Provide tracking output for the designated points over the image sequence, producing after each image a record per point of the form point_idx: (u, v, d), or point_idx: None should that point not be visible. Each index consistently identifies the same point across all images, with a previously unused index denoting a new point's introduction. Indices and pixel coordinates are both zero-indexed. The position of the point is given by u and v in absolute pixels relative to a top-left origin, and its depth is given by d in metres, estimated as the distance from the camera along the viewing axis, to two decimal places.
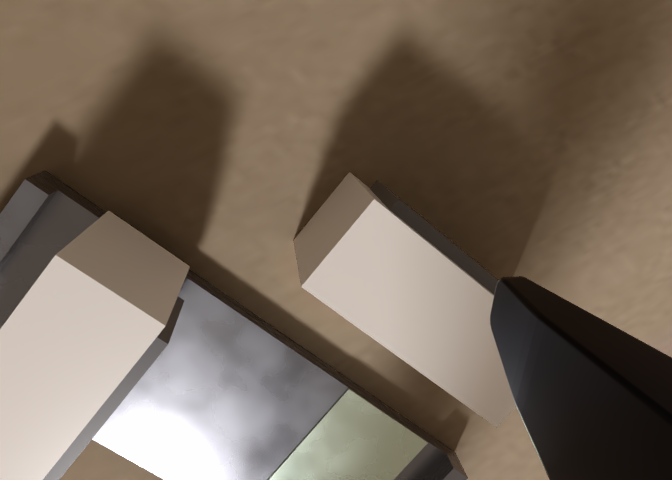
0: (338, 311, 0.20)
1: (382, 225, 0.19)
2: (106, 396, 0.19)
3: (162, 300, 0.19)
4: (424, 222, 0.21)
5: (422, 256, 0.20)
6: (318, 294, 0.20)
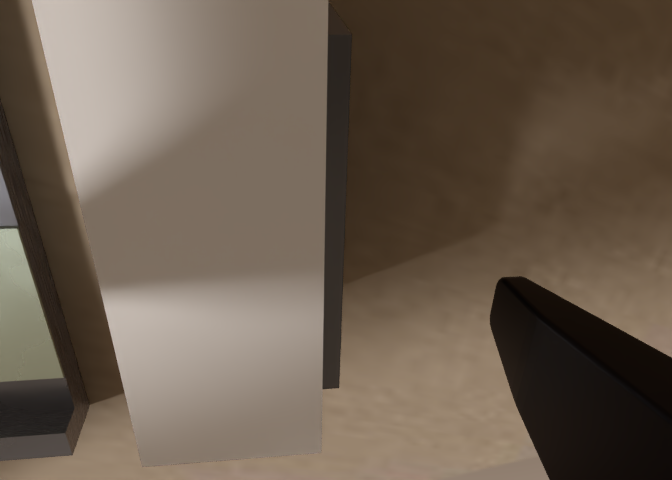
0: (59, 94, 0.08)
1: (292, 35, 0.08)
2: None
3: None
4: (345, 114, 0.10)
5: (295, 158, 0.09)
6: (47, 22, 0.08)
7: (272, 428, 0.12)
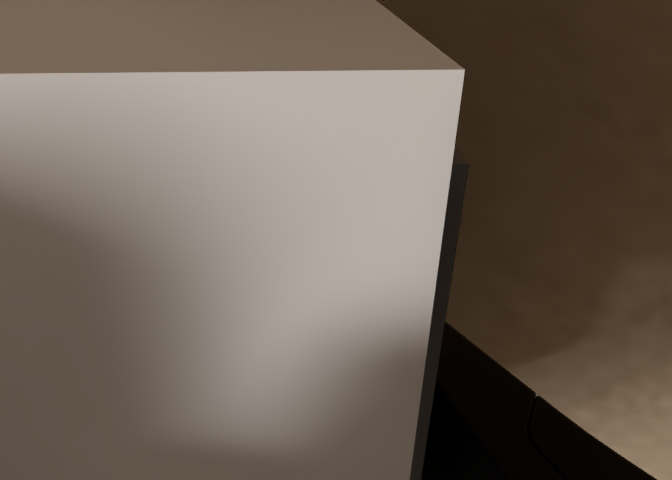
0: None
1: (367, 206, 0.03)
2: None
3: None
4: (441, 296, 0.05)
5: (356, 418, 0.04)
6: None
7: None
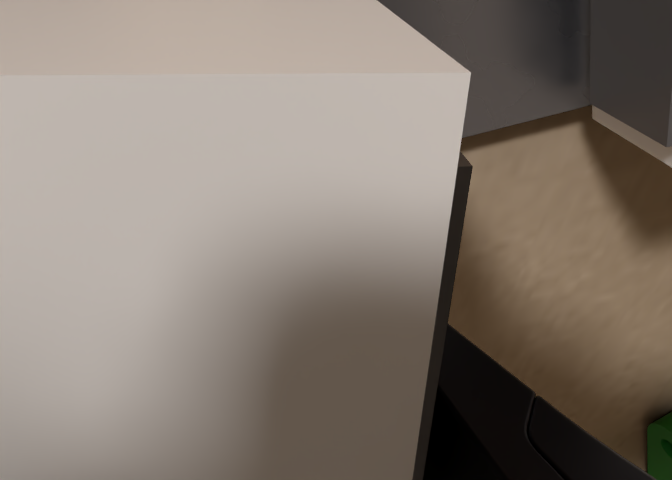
0: None
1: (371, 207, 0.03)
2: None
3: None
4: (444, 298, 0.05)
5: (359, 420, 0.04)
6: None
7: None
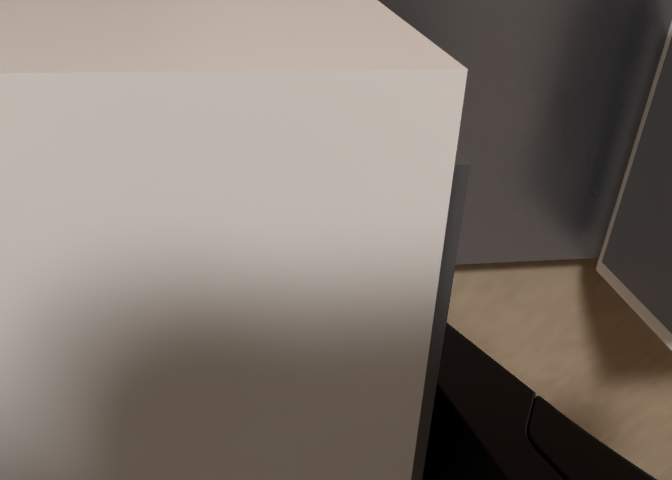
0: None
1: (368, 207, 0.03)
2: None
3: None
4: (443, 297, 0.05)
5: (357, 420, 0.04)
6: None
7: None
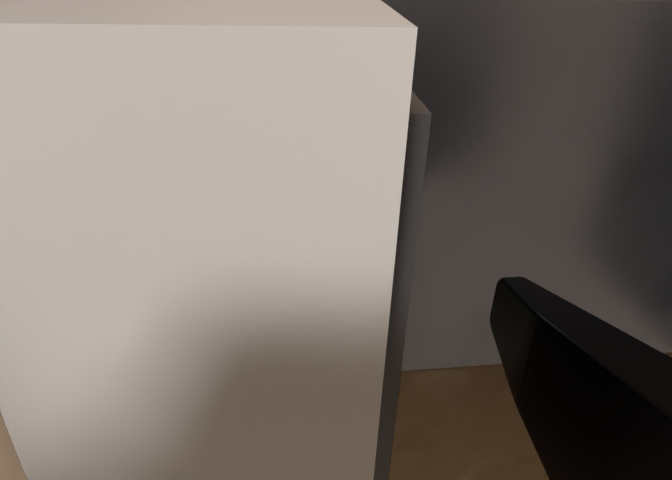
0: None
1: (346, 133, 0.05)
2: None
3: None
4: (412, 228, 0.06)
5: (340, 314, 0.06)
6: None
7: None
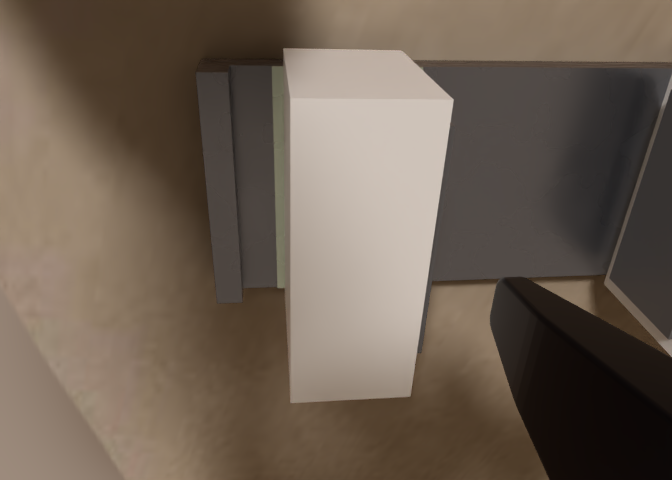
0: (292, 163, 0.14)
1: (429, 132, 0.14)
2: None
3: None
4: (446, 172, 0.16)
5: (420, 200, 0.15)
6: (295, 125, 0.14)
7: (380, 377, 0.18)
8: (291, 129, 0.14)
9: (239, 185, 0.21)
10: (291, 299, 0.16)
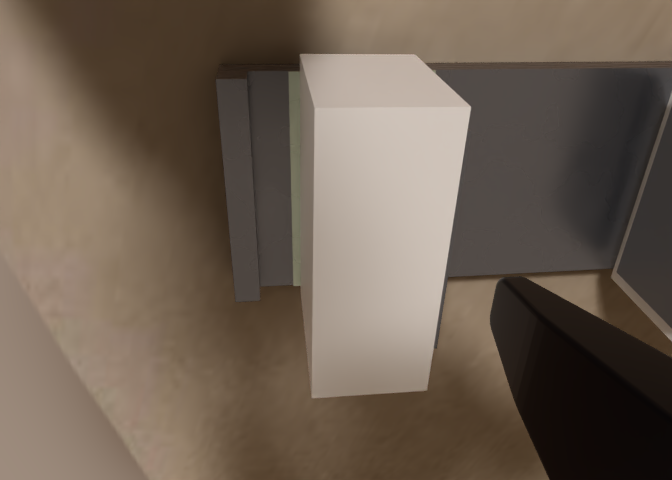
0: (315, 170, 0.15)
1: (447, 138, 0.14)
2: None
3: None
4: (462, 175, 0.16)
5: (438, 203, 0.15)
6: (319, 134, 0.14)
7: (398, 372, 0.19)
8: (315, 137, 0.14)
9: (256, 187, 0.21)
10: (313, 299, 0.17)
